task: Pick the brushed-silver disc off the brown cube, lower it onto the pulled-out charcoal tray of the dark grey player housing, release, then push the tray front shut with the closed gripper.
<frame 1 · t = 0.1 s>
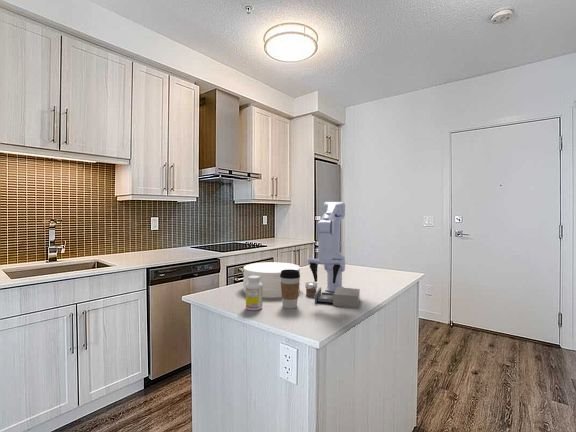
hand: (324, 282, 129), 10 cm above the countertop, fingers open, 7 cm apart
plate stack: (271, 290, 155), on the countertop
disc: (311, 287, 145), point 3 cm above the countertop, touching brown cube
coffee cup: (289, 306, 129), on the countertop
housing: (346, 302, 134), on the countertop
brown cube: (311, 295, 146), on the countertop
tray: (327, 296, 137), point 2 cm above the countertop, slide at 7.0 cm
supplement bottle: (254, 308, 126), on the countertop
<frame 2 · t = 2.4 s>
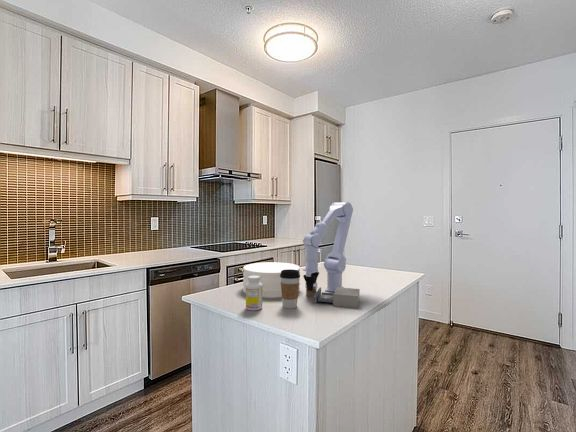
hand: (311, 288, 145), 3 cm above the countertop, fingers closed on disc, 5 cm apart
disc: (311, 287, 145), point 3 cm above the countertop, touching gripper, brown cube
everything else where it was.
when the fingers open (3 cm above the countertop, at t = 5.9 s): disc drops 2 cm, resting on tray.
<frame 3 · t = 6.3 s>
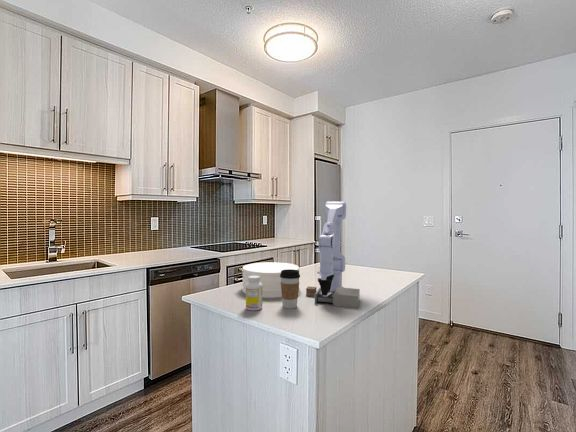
hand: (326, 292, 137), 3 cm above the countertop, fingers open, 7 cm apart
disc: (325, 296, 137), point 2 cm above the countertop, touching tray
tray: (327, 296, 137), point 2 cm above the countertop, slide at 7.0 cm, touching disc
everything else where it was.
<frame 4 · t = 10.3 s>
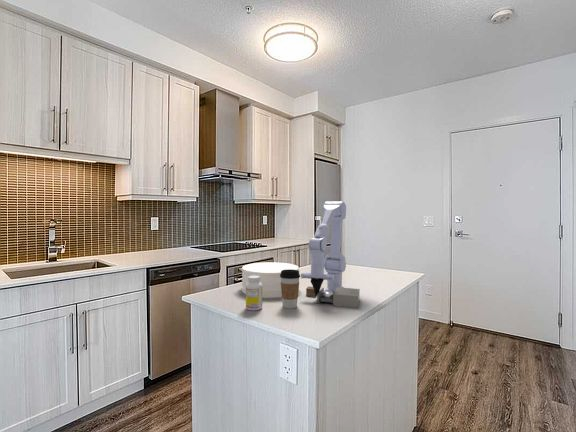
hand: (317, 295, 138), 2 cm above the countertop, fingers closed
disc: (328, 297, 137), point 2 cm above the countertop, touching tray
tray: (330, 296, 136), point 2 cm above the countertop, slide at 5.9 cm, touching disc, gripper
everything else where it was.
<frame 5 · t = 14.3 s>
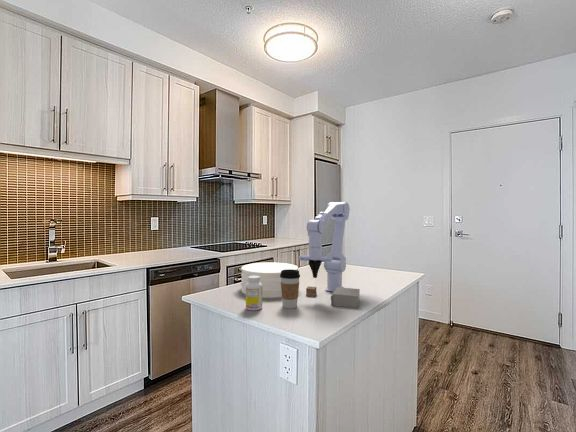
hand: (315, 277, 138), 10 cm above the countertop, fingers closed
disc: (341, 298, 135), point 2 cm above the countertop, touching tray
tray: (343, 297, 135), point 2 cm above the countertop, slide at 0.0 cm, touching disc
at the end: tray slide at 0.0 cm; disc inside the target area on the housing (2.0 cm from its centre), point 1.6 cm above the housing's base; the gripper is holding nothing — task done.
